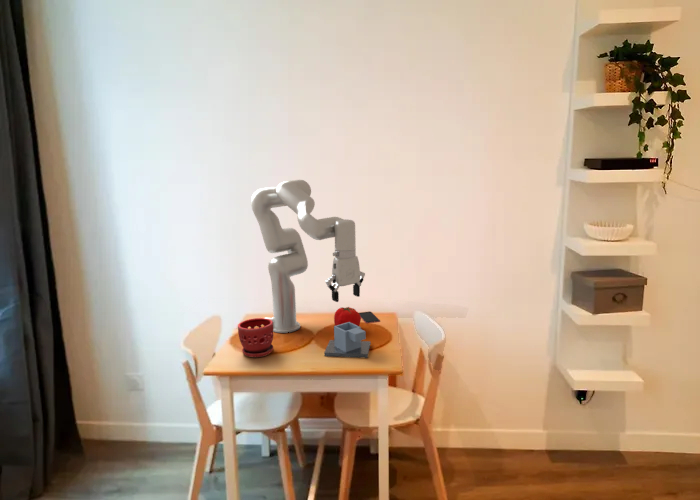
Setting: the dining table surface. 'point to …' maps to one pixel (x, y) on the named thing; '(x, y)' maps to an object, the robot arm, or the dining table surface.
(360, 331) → the elbow
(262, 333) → the plant pot
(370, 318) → the smartphone
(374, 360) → the dining table surface
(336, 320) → the tomato
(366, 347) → the duct base
